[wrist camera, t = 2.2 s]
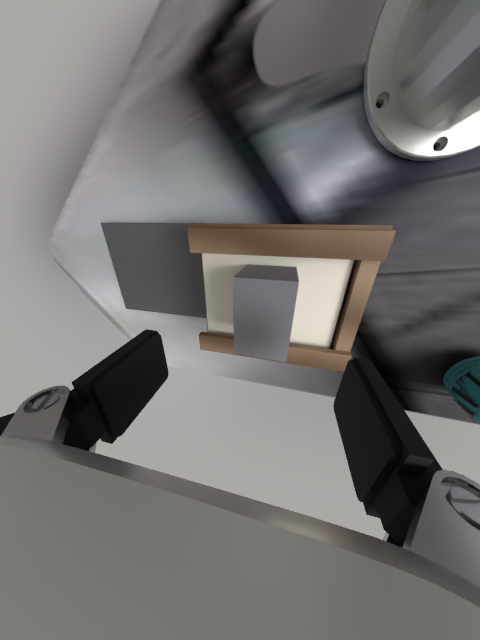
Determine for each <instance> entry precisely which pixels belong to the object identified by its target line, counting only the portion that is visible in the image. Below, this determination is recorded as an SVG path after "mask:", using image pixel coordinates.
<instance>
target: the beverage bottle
mask: <svg viewBox="0 0 480 640" xmlns="http://www.w3.org/2000/svg"><path fill="white" fill-rule="evenodd" d="M444 385H445V389H447V391H448V392H449V393H450V394H451V395H452V396H453V397H454V398H455V401H456V400H457V401H458V402H457V401H456V402H457V403H458V404H459V403H460V404H459V405H460V406H461V407H462V408H463V409H464V410H465V411H467V412H468V413H469V414H470V415H471V416H472V417H473V418H474V419H475V420H476V421H477V422H478V423H479V424H480V356H477V357H472V358H468V359H465V360H462V361H460V362H458V363H456V364H455V365H453V366H452V367H451V368H450V369H449V370H448V371H447V372H446V374H445V375H444ZM450 394H449V395H450ZM470 415H469V416H470ZM471 416H470V417H471ZM472 417H471V418H472ZM475 420H474V421H475Z"/></svg>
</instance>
